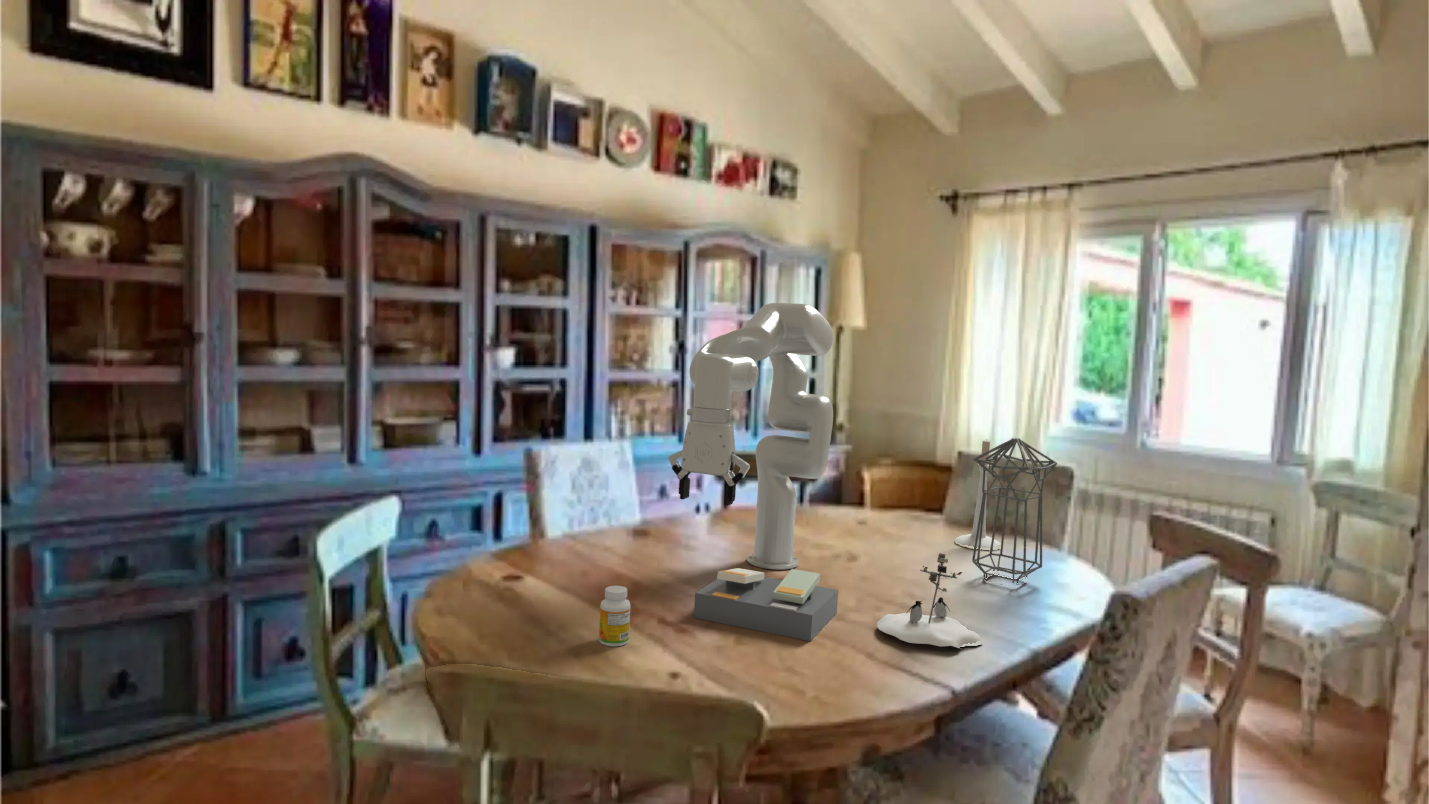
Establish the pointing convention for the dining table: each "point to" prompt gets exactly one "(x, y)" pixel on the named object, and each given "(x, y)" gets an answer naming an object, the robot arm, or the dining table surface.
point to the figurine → (929, 620)
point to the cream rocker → (740, 575)
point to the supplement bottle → (614, 617)
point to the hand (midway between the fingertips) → (706, 501)
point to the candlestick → (971, 538)
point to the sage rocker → (796, 586)
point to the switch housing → (765, 608)
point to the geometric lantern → (1007, 447)
